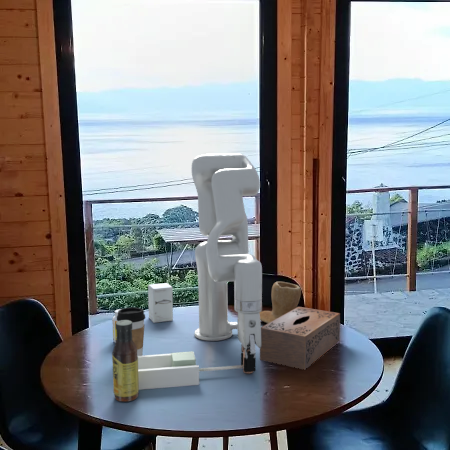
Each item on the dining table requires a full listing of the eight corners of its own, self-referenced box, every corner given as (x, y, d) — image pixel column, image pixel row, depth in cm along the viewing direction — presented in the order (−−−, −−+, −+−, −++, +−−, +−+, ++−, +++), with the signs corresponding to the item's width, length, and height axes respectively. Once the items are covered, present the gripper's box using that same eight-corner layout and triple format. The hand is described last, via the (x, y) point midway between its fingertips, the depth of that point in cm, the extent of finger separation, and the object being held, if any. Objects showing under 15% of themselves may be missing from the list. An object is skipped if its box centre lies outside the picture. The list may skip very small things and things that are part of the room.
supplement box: (153, 323, 204) (152, 288, 202) (148, 317, 210) (147, 284, 209) (173, 321, 206) (172, 286, 205) (168, 315, 213) (167, 282, 211)
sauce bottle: (115, 392, 147) (112, 318, 144) (139, 391, 147) (137, 317, 145) (112, 404, 140) (109, 326, 138) (138, 403, 141) (135, 325, 138)
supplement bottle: (133, 341, 185) (132, 310, 184) (118, 345, 182) (117, 314, 180) (125, 337, 189) (124, 307, 188) (110, 340, 186) (108, 310, 184)
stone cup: (307, 326, 199) (308, 284, 197) (282, 333, 192) (282, 289, 190) (278, 315, 211) (278, 276, 209) (253, 322, 204) (253, 281, 202)
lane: (194, 368, 162) (193, 348, 161) (199, 384, 151) (198, 363, 151) (129, 373, 159) (128, 353, 158) (130, 390, 148) (129, 368, 147)
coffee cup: (123, 365, 165) (121, 315, 163) (114, 356, 172) (112, 308, 170) (150, 360, 169) (149, 311, 167) (141, 351, 176) (139, 304, 174)
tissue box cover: (298, 335, 190) (298, 306, 189) (339, 343, 182) (340, 313, 181) (259, 360, 169) (259, 327, 167) (304, 370, 161) (305, 336, 160)
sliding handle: (250, 366, 162) (250, 346, 162) (255, 375, 157) (255, 354, 156) (171, 373, 159) (171, 352, 158) (173, 381, 153) (173, 360, 152)
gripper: (268, 312, 149) (268, 379, 152) (254, 296, 165) (254, 357, 168) (240, 314, 148) (241, 381, 151) (229, 297, 164) (229, 359, 167)
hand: (248, 368), depth 159 cm, fingers closed on sliding handle, 2 cm apart
